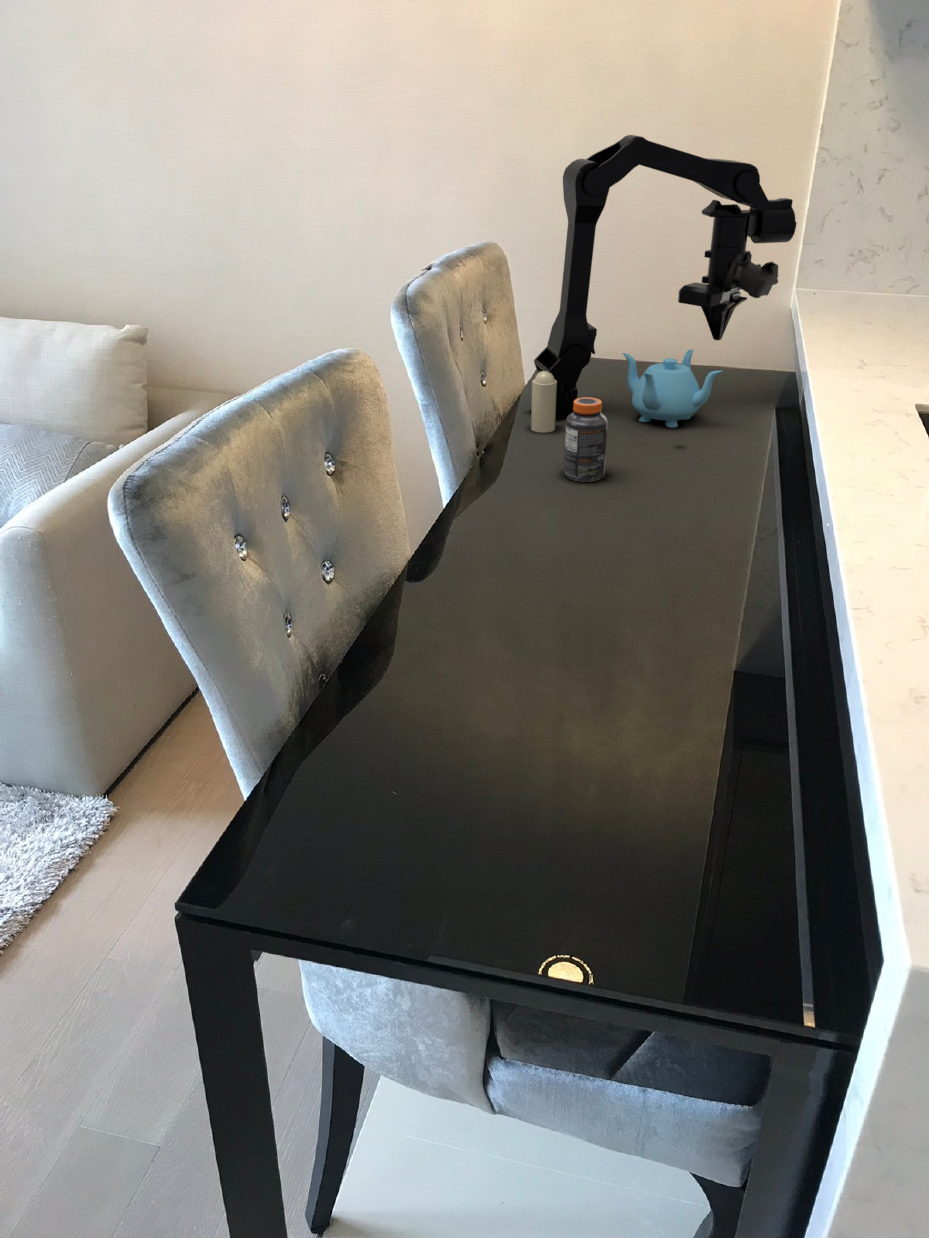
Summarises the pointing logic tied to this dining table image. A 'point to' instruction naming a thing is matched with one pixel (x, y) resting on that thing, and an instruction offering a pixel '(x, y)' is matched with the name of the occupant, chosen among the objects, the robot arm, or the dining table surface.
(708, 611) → the dining table surface
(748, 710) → the dining table surface
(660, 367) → the teapot
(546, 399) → the salt shaker
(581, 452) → the pill bottle
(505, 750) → the dining table surface
